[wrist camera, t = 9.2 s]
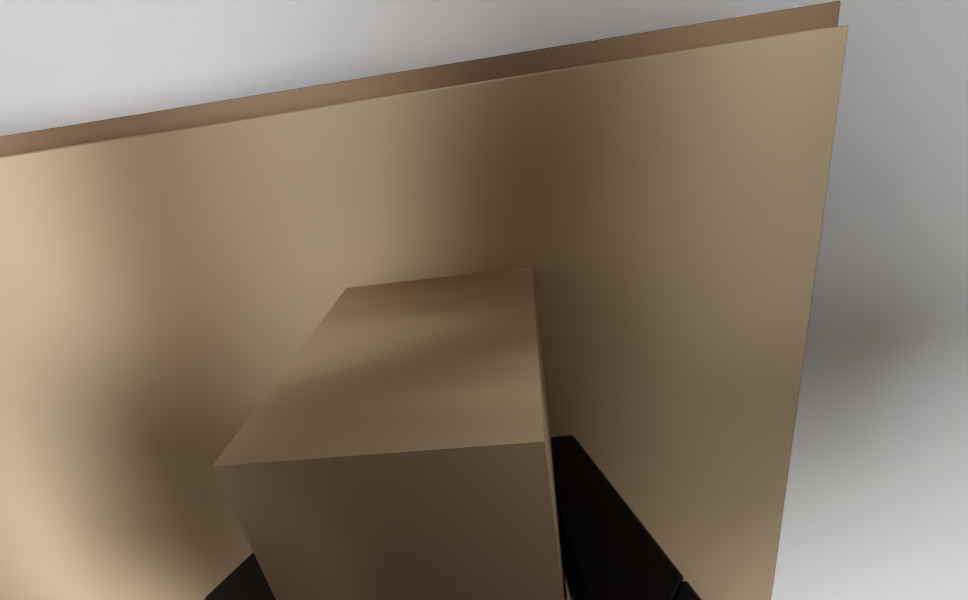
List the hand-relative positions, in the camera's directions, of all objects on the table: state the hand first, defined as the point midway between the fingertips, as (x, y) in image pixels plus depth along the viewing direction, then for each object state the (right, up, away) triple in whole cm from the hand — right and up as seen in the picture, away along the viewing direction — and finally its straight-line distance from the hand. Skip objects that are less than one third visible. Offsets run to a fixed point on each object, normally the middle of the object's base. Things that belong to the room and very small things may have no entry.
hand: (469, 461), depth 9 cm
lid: (-5, 0, +3) cm, 5 cm away
